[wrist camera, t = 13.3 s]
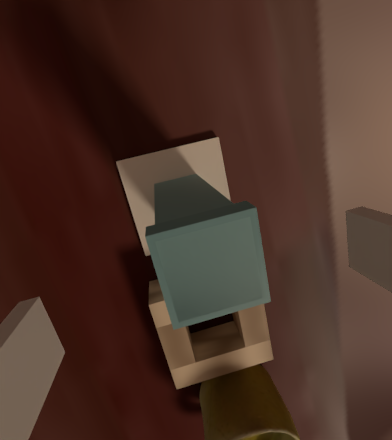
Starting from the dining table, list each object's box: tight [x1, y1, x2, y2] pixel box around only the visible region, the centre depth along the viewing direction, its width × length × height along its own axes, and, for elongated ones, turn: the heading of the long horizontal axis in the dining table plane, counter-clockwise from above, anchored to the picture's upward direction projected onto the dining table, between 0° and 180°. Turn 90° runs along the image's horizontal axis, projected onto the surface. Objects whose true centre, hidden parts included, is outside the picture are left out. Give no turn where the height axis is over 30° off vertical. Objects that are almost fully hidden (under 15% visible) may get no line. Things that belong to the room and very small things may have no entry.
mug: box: [199, 364, 300, 440], centre depth 29 cm, size 12×10×10 cm
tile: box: [116, 137, 230, 256], centre depth 24 cm, size 9×9×1 cm
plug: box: [145, 174, 271, 330], centre depth 17 cm, size 4×4×14 cm
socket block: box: [149, 279, 273, 389], centre depth 27 cm, size 10×10×4 cm
